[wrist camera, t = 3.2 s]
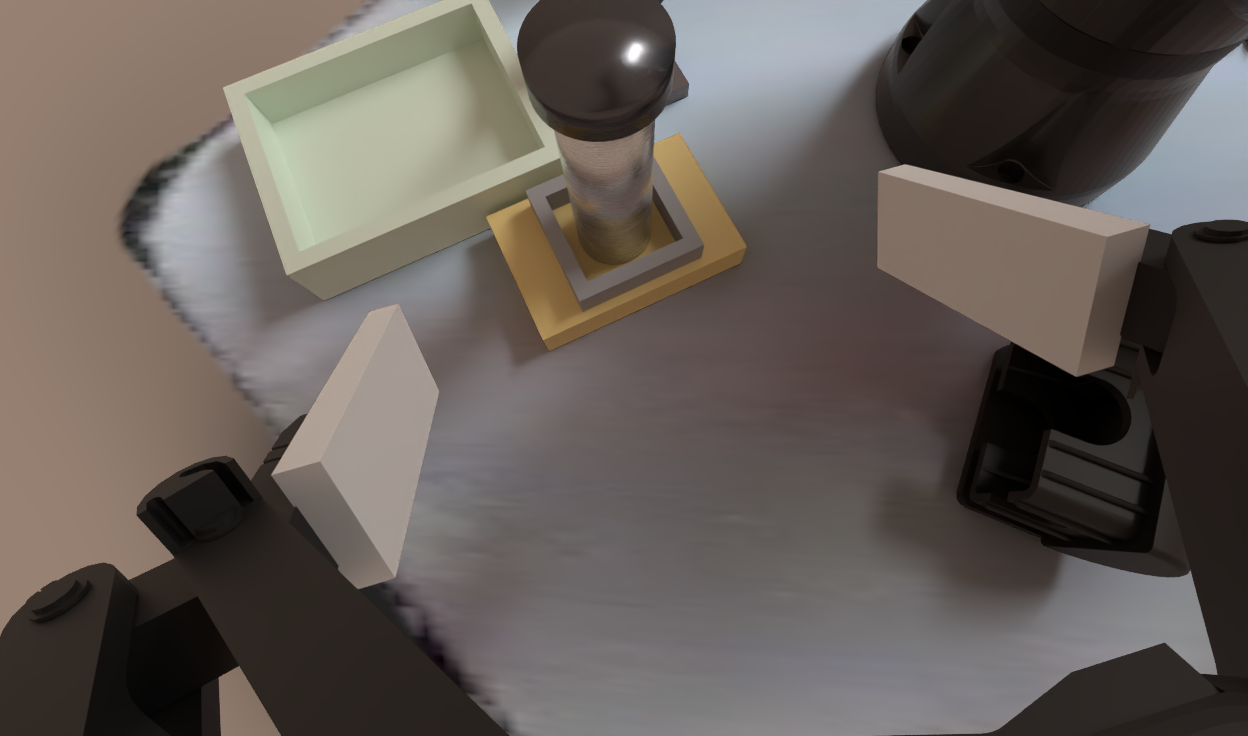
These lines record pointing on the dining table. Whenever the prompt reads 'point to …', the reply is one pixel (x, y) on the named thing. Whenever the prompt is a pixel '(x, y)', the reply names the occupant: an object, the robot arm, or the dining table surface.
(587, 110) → the pin
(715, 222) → the block
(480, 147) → the tray
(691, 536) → the dining table surface
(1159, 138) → the robot arm
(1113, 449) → the end cap
